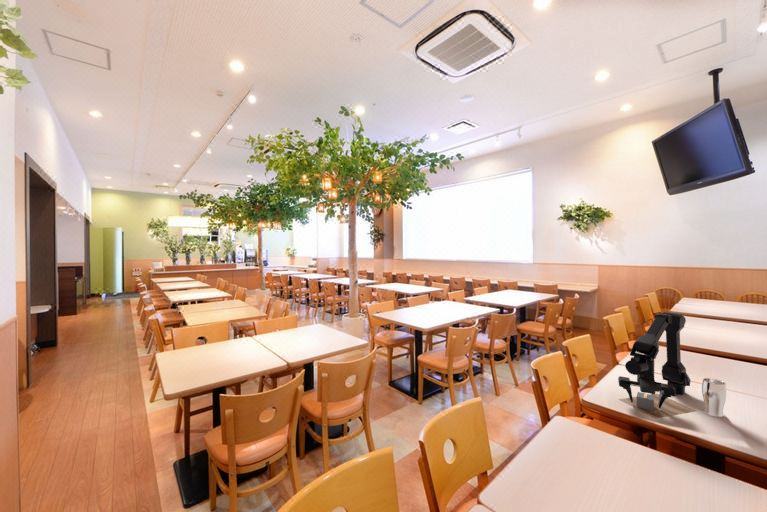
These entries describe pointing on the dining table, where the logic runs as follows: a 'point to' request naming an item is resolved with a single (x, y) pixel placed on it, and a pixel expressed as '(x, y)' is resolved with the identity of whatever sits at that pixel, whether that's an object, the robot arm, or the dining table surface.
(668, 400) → the board
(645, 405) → the grey block
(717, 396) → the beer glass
